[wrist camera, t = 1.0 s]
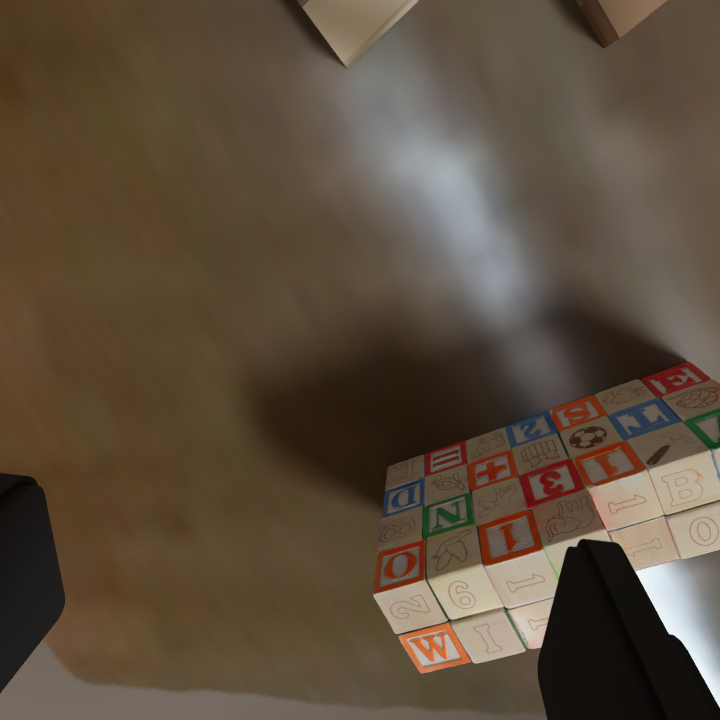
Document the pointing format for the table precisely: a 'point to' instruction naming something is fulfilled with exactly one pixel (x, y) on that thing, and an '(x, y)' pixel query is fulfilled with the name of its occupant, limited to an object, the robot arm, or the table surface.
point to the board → (354, 23)
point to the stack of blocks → (544, 513)
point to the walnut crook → (615, 16)
